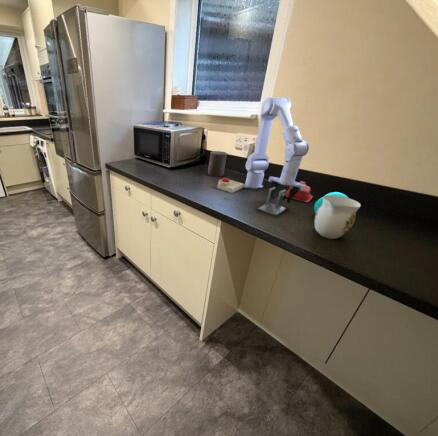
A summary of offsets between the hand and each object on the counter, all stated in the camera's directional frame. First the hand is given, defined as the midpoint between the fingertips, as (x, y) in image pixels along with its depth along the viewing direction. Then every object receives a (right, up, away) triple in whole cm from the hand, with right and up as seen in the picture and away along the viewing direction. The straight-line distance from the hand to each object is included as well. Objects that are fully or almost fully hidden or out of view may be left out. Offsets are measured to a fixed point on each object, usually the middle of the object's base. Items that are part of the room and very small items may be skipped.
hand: (280, 200), depth 106 cm
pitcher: (+6, -14, -20) cm, 25 cm away
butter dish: (+13, +2, +9) cm, 16 cm away
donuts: (+15, -8, -8) cm, 19 cm away
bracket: (-6, -5, -4) cm, 9 cm away
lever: (-3, 0, -4) cm, 5 cm away
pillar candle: (-18, +19, +41) cm, 49 cm away
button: (-19, +11, +19) cm, 29 cm away
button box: (-16, +8, +21) cm, 27 cm away
